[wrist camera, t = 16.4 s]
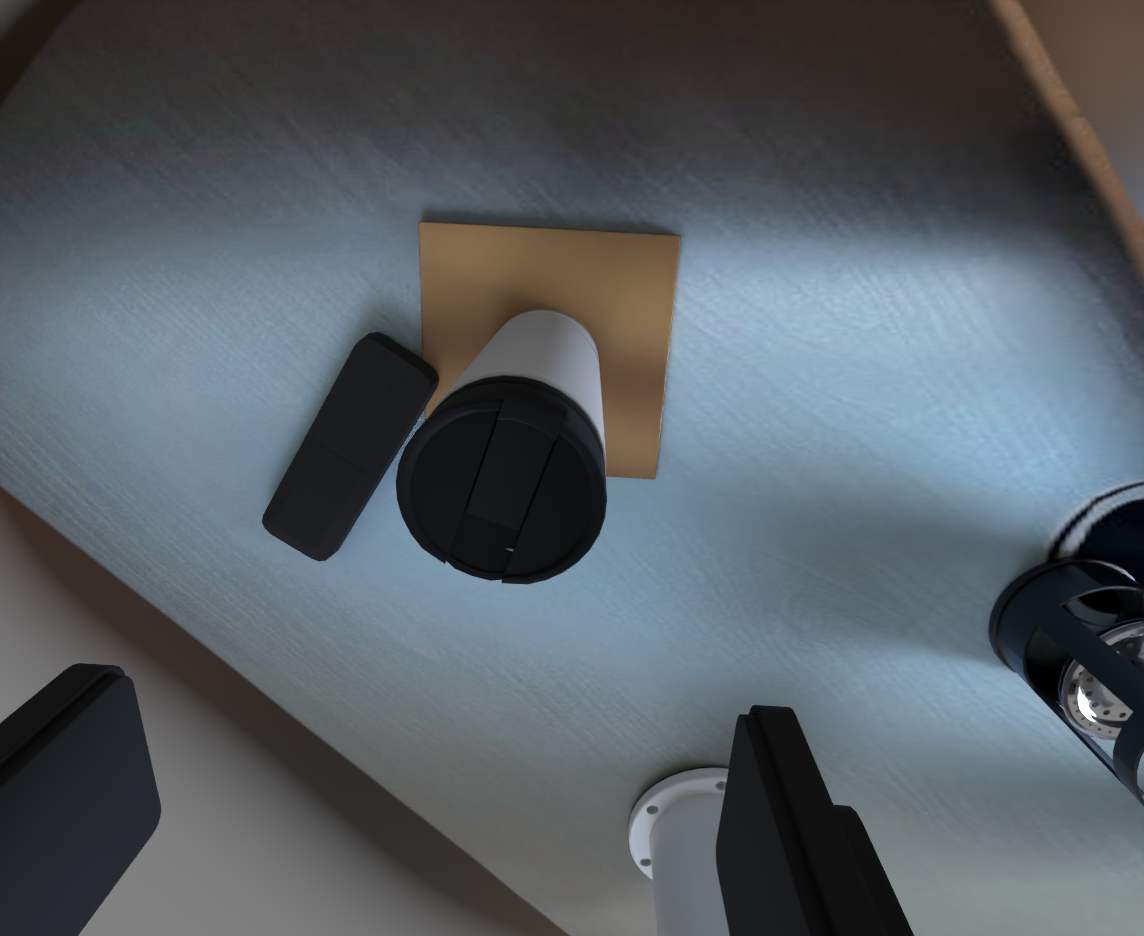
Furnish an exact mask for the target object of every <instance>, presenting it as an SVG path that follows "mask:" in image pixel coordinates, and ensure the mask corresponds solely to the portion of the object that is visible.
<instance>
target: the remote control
mask: <svg viewBox="0 0 1144 936" xmlns="http://www.w3.org/2000/svg"><path fill="white" fill-rule="evenodd" d="M438 383H439V377H438V374H437V371H436V370H435V369H434V368H433V367H432V366H430V365H429V364H428V363H427V362H425V361H424V360H422V359H421V358H419V357H418V356H416V355H415V354H413V353H412V352H410V351H409V350H407V349H406V348H404V347H403V346H401V345H400V344H398V343H397V342H395V341H394V340H392V339H391V338H389V337H388V336H386V335H384V334H381V333H378V332H375V333H369V334H368V335H367V336H365V337H364V338H363V339H361V340H360V341H359V342H358V343H357V344H356V345H355V346H354V348H353V350H352V352H351V354H350V355H349V357H348V359H347V361H346V363H345V365H344V367H343V368H342V370H341V372H340V374H339V376H338V378H337V380H336V381H335V383H334V385H333V387H332V389H331V391H330V393H329V394H328V396H327V398H326V400H325V402H324V404H323V405H322V407H321V409H320V411H319V413H318V415H317V417H316V418H315V420H314V422H313V424H312V426H311V428H310V429H309V431H308V433H307V435H306V437H305V439H304V441H303V442H302V444H301V446H300V448H299V450H298V452H297V454H296V455H295V457H294V459H293V461H292V463H291V465H290V466H289V468H288V470H287V472H286V474H285V476H284V478H283V479H282V481H281V483H280V485H279V487H278V489H277V491H276V492H275V494H274V496H273V498H272V500H271V502H270V503H269V505H268V507H267V509H266V511H265V513H264V515H263V519H262V523H263V525H264V527H265V529H266V530H267V531H268V532H269V533H270V534H272V535H273V536H275V537H277V538H278V539H280V540H282V541H283V542H285V543H287V544H288V545H290V546H291V547H293V548H295V549H296V550H298V551H300V552H301V553H303V554H305V555H306V556H308V557H310V558H311V559H314V560H317V561H325V560H327V559H328V558H329V557H331V556H332V555H333V554H334V553H335V552H337V551H338V550H339V548H340V547H341V545H342V543H343V542H344V540H345V538H346V537H347V535H348V533H349V532H350V530H351V529H352V527H353V525H354V524H355V522H356V520H357V519H358V517H359V515H360V514H361V512H362V510H363V509H364V507H365V506H366V504H367V502H368V501H369V499H370V497H371V496H372V494H373V492H374V491H375V489H376V487H377V486H378V484H379V483H380V481H381V479H382V478H383V476H384V474H385V473H386V471H387V469H388V468H389V466H390V465H391V463H392V461H393V460H394V458H395V456H396V455H397V453H398V451H399V450H400V448H401V446H402V445H403V443H404V442H405V440H406V438H407V437H408V435H409V433H410V432H411V430H412V428H413V427H414V425H415V423H416V422H417V420H418V419H419V417H420V415H421V414H422V412H423V410H424V409H425V407H426V405H427V404H428V402H429V400H430V399H431V397H432V396H433V394H434V392H435V391H436V389H437V387H438Z"/></svg>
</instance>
